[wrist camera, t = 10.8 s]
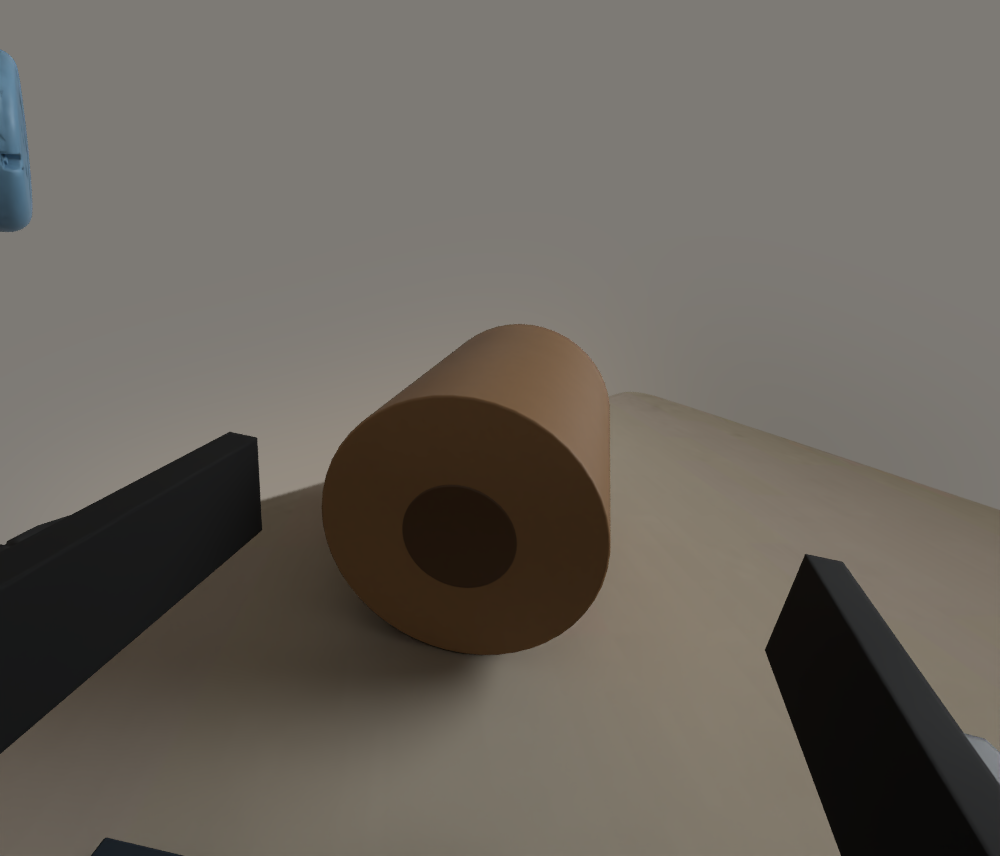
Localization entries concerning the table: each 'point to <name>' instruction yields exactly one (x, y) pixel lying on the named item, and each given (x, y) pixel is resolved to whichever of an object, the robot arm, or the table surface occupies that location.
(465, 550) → the paper roll
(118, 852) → the slate mat
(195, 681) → the table surface
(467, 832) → the table surface
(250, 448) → the robot arm
